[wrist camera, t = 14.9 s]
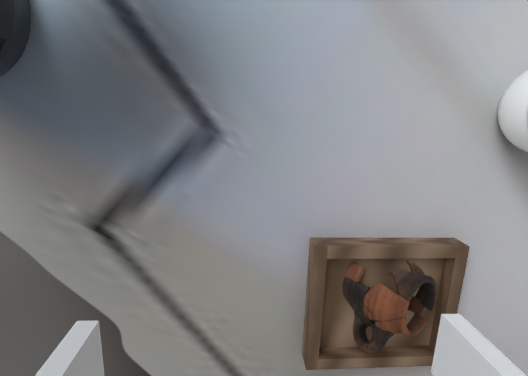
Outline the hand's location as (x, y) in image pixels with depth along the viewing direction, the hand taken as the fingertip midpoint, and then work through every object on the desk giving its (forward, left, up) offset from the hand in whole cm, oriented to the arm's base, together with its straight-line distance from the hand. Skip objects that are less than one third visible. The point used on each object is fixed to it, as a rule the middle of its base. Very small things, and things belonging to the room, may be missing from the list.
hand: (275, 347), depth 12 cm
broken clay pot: (+16, -13, -26) cm, 34 cm away
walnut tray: (+17, -15, -27) cm, 35 cm away
